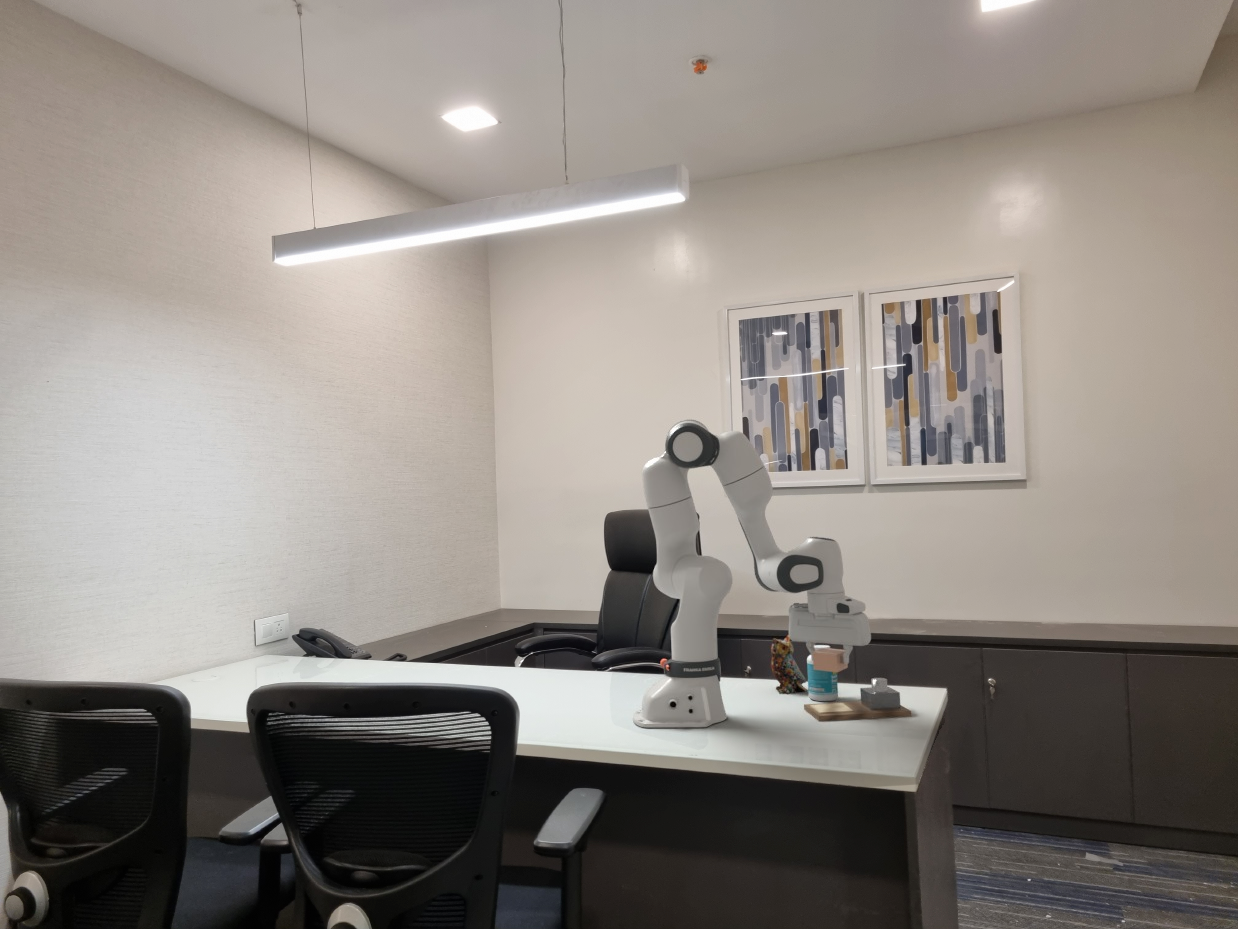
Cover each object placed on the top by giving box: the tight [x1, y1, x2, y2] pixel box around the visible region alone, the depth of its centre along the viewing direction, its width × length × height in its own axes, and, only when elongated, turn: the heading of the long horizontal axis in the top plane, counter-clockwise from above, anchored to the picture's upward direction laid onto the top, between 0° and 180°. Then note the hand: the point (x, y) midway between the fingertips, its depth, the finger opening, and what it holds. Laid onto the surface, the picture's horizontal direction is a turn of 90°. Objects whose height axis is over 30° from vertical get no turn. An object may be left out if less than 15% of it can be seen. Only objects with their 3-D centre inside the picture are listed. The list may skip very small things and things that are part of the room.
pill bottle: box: [806, 644, 839, 702], centre depth 215 cm, size 8×7×14 cm
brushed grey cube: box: [859, 677, 901, 710], centre depth 200 cm, size 7×7×6 cm
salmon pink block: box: [813, 647, 849, 673], centre depth 200 cm, size 6×6×4 cm
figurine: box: [770, 634, 808, 695], centre depth 226 cm, size 9×9×15 cm
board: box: [803, 700, 912, 722], centre depth 199 cm, size 22×12×2 cm, turn 94°
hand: (830, 662), depth 200 cm, fingers closed on salmon pink block, 6 cm apart
